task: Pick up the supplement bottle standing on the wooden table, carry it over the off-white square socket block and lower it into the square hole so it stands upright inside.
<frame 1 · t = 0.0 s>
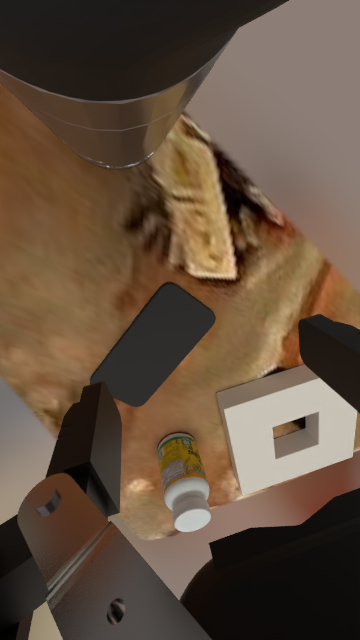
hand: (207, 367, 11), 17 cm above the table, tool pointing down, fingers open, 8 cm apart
socket block: (284, 419, 39), on the table
supplement bottle: (176, 444, 37), on the table
phone: (151, 347, 30), on the table
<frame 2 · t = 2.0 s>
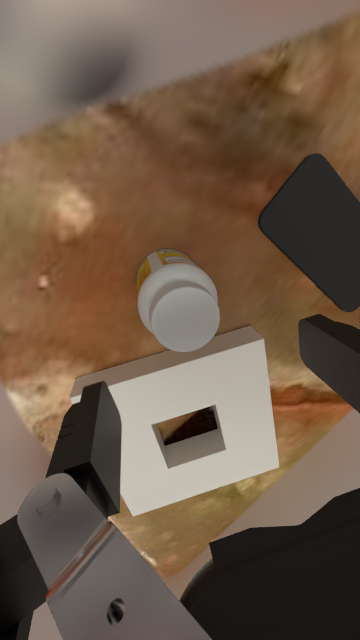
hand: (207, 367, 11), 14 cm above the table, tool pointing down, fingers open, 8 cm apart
socket block: (185, 417, 30), on the table
supplement bottle: (165, 278, 24), on the table
phone: (328, 242, 25), on the table
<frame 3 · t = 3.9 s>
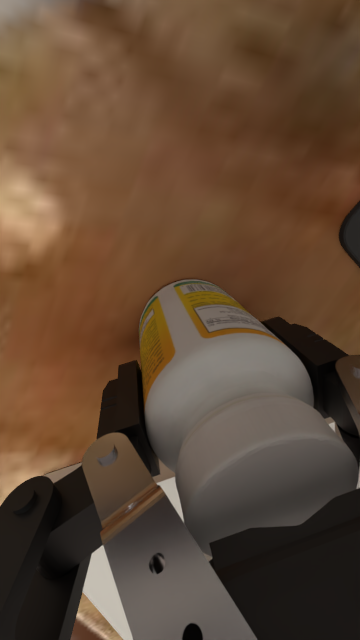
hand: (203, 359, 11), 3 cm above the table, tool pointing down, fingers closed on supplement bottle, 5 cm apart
socket block: (208, 509, 21), on the table
supplement bottle: (186, 324, 15), on the table, touching gripper
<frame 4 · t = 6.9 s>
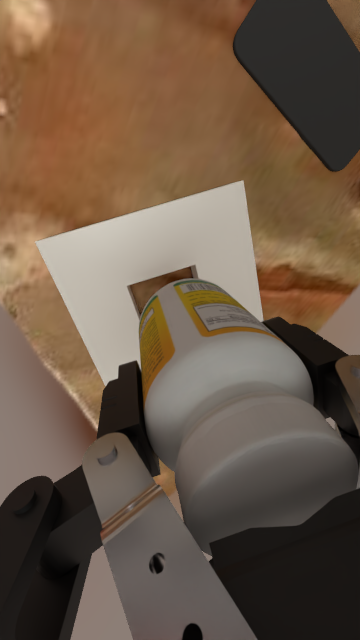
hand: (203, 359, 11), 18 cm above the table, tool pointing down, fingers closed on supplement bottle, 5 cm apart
socket block: (166, 297, 28), on the table
supplement bottle: (186, 323, 15), point 14 cm above the table, touching gripper
phone: (311, 82, 24), on the table
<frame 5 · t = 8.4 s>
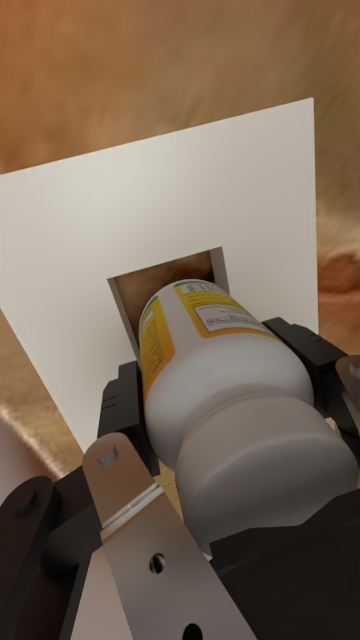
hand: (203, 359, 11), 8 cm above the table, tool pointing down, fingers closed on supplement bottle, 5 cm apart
socket block: (171, 299, 19), on the table
supplement bottle: (186, 324, 15), point 5 cm above the table, touching gripper
when the fingers open (5 cm above the table, at t = 9.9 s): supplement bottle drops 1 cm, resting in socket block.
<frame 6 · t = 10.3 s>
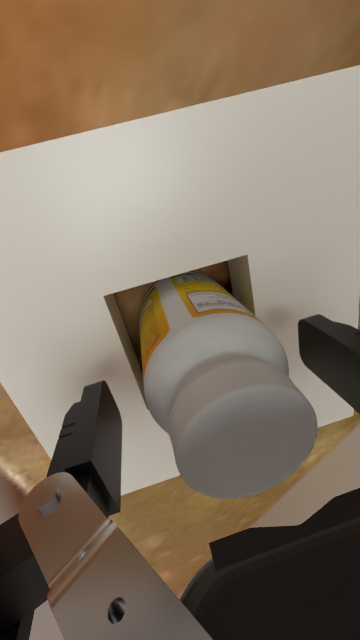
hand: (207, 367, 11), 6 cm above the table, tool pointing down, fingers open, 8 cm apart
socket block: (181, 316, 16), on the table
supplement bottle: (182, 313, 16), resting in socket block
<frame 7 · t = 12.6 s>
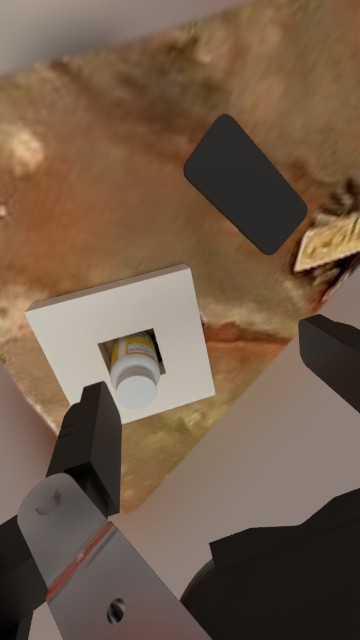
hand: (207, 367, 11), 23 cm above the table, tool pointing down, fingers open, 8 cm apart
socket block: (132, 347, 35), on the table
supplement bottle: (133, 346, 35), resting in socket block
phone: (246, 192, 31), on the table
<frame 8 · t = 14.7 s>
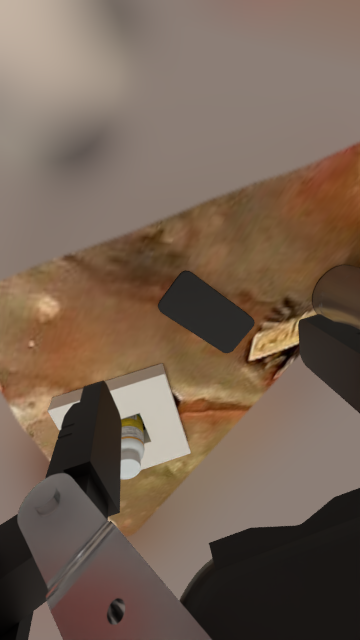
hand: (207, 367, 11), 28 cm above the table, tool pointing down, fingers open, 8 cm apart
socket block: (126, 420, 46), on the table
supplement bottle: (126, 419, 46), resting in socket block
phone: (206, 313, 42), on the table
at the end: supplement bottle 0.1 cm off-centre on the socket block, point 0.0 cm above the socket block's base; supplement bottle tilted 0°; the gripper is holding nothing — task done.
